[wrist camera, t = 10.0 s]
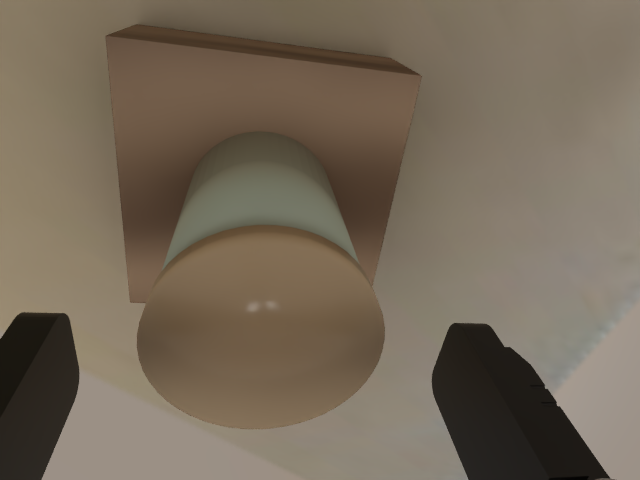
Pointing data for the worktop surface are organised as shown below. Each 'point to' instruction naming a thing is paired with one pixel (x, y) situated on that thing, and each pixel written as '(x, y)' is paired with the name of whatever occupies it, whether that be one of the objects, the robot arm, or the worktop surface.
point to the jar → (260, 293)
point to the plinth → (250, 127)
